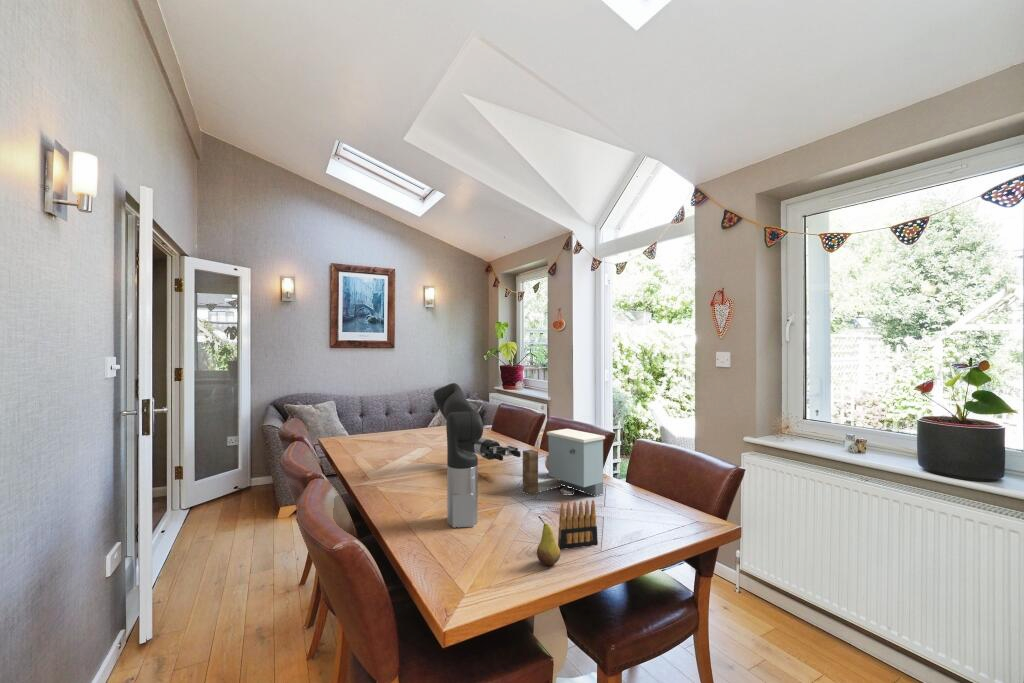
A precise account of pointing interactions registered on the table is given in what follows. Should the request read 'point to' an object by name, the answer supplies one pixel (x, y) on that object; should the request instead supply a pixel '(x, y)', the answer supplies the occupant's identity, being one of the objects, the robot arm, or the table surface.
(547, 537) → the fruit
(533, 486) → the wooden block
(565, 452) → the cabinet
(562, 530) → the ammunition clip
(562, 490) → the steel puck
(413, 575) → the table surface
